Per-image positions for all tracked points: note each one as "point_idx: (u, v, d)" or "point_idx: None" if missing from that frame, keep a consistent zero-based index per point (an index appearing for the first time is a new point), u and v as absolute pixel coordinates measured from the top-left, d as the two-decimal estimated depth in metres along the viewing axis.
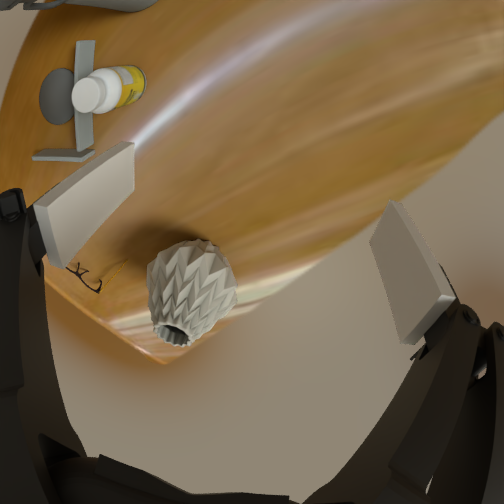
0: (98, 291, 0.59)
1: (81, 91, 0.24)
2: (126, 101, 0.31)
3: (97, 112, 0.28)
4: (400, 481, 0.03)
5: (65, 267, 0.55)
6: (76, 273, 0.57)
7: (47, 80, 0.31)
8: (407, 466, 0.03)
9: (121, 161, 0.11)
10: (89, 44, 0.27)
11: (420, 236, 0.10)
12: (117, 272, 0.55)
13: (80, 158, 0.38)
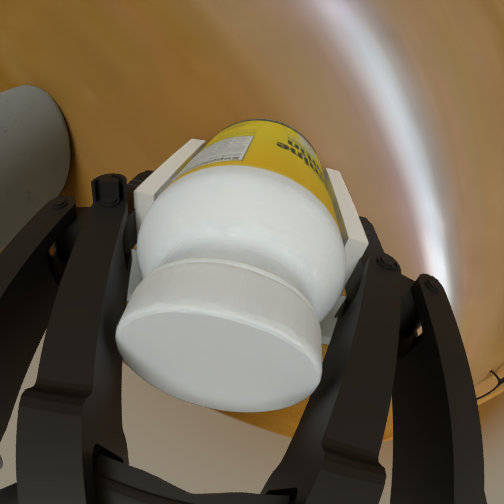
0: None
1: (188, 380, 0.06)
2: (321, 177, 0.09)
3: (330, 308, 0.08)
4: (338, 459, 0.03)
5: (485, 395, 0.25)
6: (500, 382, 0.24)
7: None
8: (346, 438, 0.04)
9: None
10: None
11: (346, 195, 0.11)
12: None
13: None
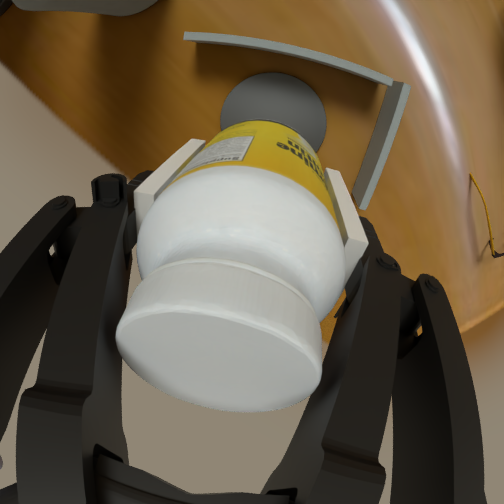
0: None
1: (188, 380, 0.06)
2: (321, 177, 0.09)
3: (330, 308, 0.08)
4: (338, 459, 0.03)
5: None
6: None
7: None
8: (346, 438, 0.04)
9: None
10: None
11: (346, 194, 0.11)
12: None
13: (403, 86, 0.19)
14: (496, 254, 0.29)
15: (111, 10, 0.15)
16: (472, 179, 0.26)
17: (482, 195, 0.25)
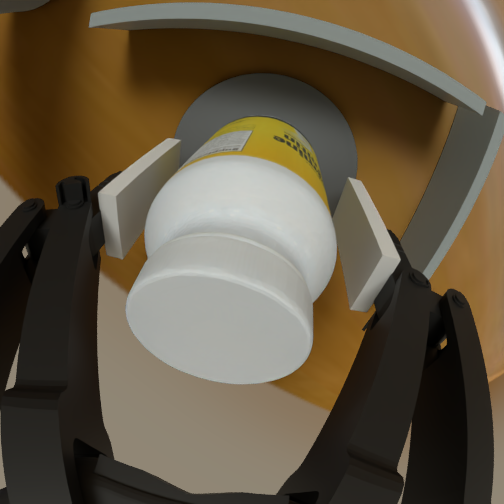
0: None
1: (190, 349, 0.07)
2: (315, 168, 0.10)
3: (323, 286, 0.09)
4: (362, 465, 0.03)
5: None
6: None
7: None
8: (370, 446, 0.04)
9: (171, 157, 0.12)
10: None
11: (372, 207, 0.11)
12: None
13: (499, 117, 0.08)
14: None
15: None
16: None
17: None
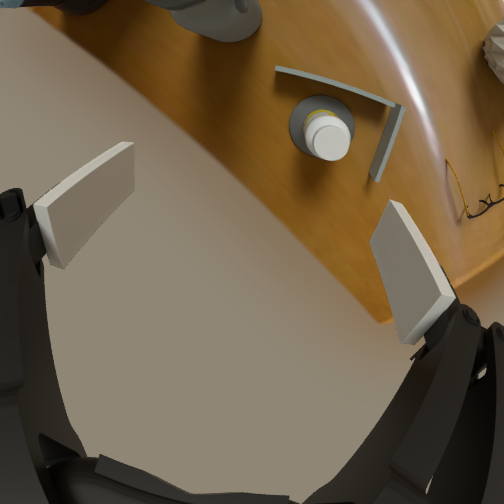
0: None
1: (326, 146, 0.33)
2: None
3: None
4: (400, 481, 0.03)
5: (481, 214, 0.42)
6: (489, 205, 0.41)
7: (297, 136, 0.43)
8: (407, 465, 0.03)
9: (121, 161, 0.11)
10: None
11: (420, 236, 0.10)
12: (501, 145, 0.33)
13: (401, 107, 0.34)
14: (470, 216, 0.43)
15: (225, 39, 0.30)
16: (447, 162, 0.41)
17: (454, 172, 0.40)
